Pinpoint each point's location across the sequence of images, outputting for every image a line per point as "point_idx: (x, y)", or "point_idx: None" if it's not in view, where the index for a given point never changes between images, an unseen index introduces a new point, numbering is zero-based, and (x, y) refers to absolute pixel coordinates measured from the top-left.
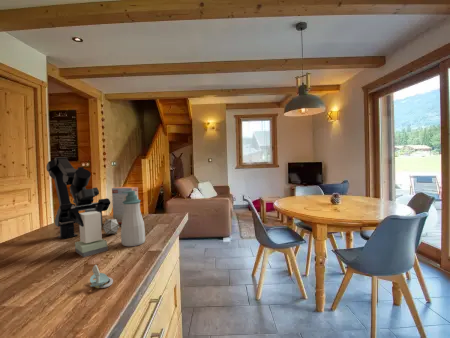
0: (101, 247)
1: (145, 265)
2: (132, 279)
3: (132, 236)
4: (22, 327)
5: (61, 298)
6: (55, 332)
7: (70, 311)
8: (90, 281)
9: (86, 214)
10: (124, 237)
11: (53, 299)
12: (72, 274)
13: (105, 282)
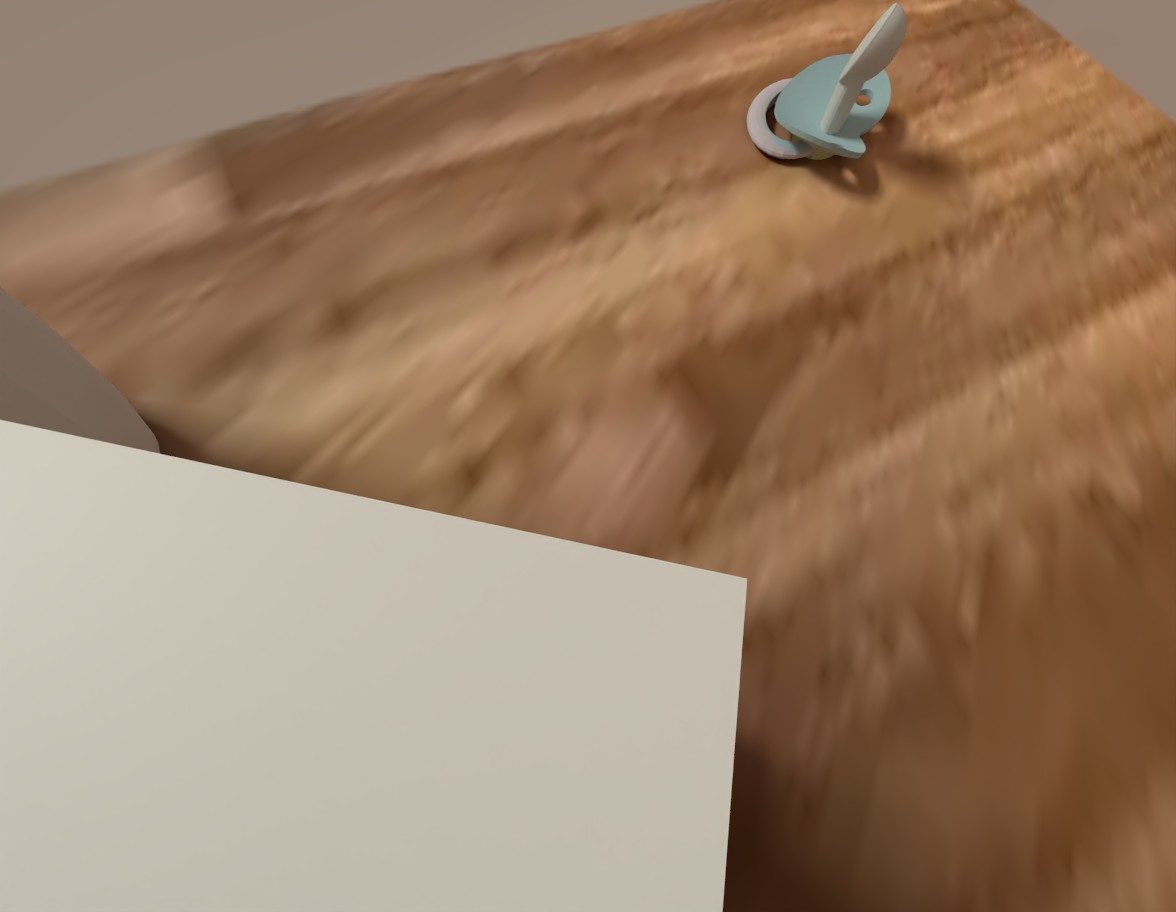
0: None
1: (501, 87)
2: (674, 50)
3: (66, 349)
4: (1160, 136)
5: (1006, 184)
6: (1060, 37)
7: (995, 81)
8: (863, 146)
9: (558, 702)
10: None
11: (1040, 206)
12: (878, 382)
13: (824, 62)
